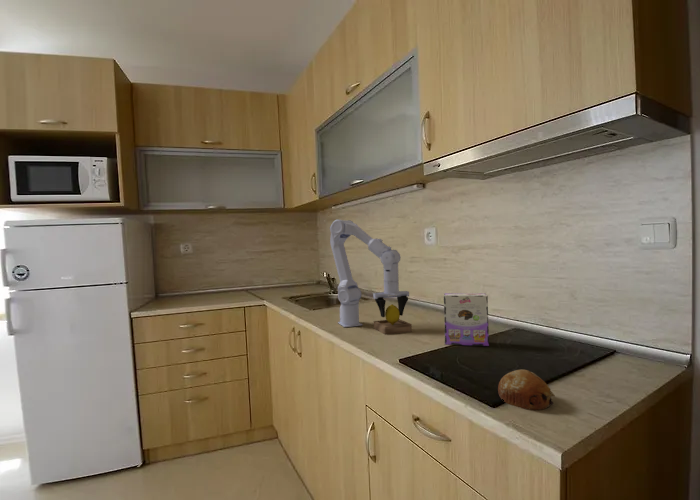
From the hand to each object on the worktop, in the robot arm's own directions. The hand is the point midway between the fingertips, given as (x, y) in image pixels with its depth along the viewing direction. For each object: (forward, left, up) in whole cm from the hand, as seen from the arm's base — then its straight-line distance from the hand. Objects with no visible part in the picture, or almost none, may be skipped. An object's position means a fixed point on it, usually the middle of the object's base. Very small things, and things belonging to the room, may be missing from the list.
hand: (391, 315), depth 140 cm
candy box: (+27, +14, -6) cm, 31 cm away
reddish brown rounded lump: (+68, -2, -6) cm, 68 cm away
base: (0, 0, -5) cm, 5 cm away
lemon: (0, 0, -4) cm, 4 cm away
